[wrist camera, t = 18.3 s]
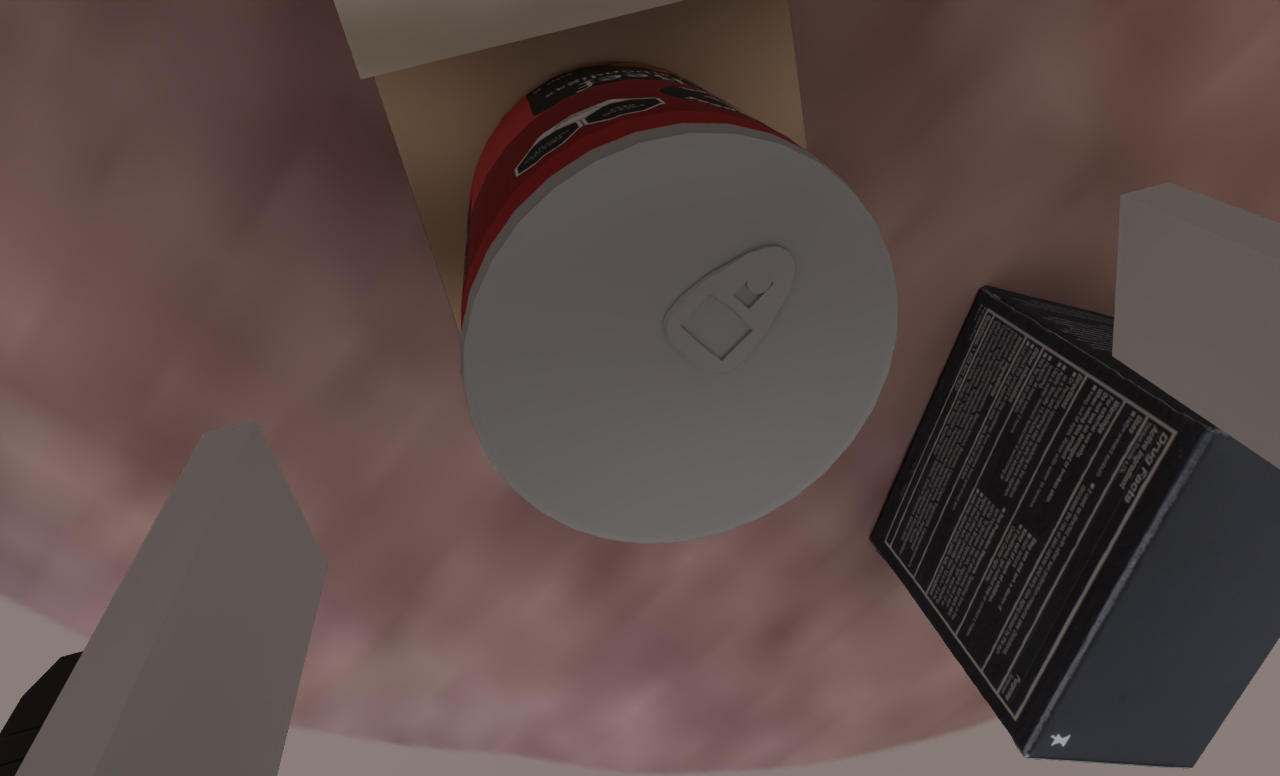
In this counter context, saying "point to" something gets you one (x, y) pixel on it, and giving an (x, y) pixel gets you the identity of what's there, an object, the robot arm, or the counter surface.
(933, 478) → the small box
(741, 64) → the notched rail
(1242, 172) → the counter surface
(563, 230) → the canned food
